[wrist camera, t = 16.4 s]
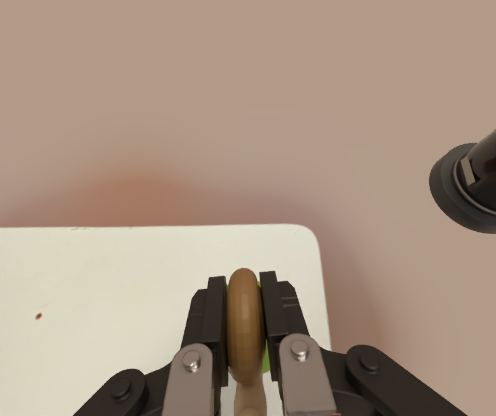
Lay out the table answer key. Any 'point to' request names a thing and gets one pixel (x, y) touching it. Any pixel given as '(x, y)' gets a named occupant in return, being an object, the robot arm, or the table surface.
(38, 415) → the table surface
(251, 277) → the snail figurine
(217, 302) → the robot arm
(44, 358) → the table surface
